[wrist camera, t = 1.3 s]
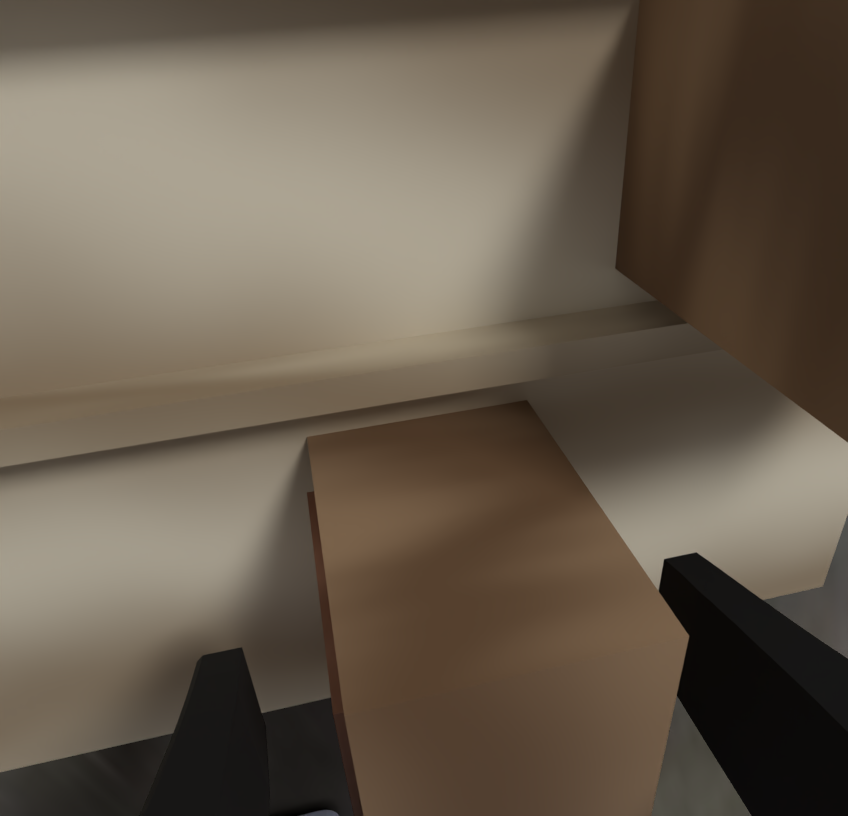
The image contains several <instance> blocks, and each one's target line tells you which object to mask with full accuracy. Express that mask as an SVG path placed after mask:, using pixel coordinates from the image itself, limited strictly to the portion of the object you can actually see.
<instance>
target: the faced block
mask: <svg viewBox="0 0 848 816" xmlns="http://www.w3.org/2000/svg"><path fill="white" fill-rule="evenodd" d="M615 269H616V270H618V271H619V272H620V273H622V274H623V275H624V276H626V277H627V278H628V279H630V280H631V281H632V282H634V283H635V284H636V285H638V286H639V287H641V288H642V289H643V290H645V291H646V292H647V293H649V294H650V295H651V296H653V297H654V298H655V299H657V300H658V301H659V302H661V303H662V304H663V305H665V306H666V307H667V308H669V309H670V310H671V311H673V312H674V313H675V314H677V315H678V316H679V317H681V318H682V319H683V320H685V321H686V322H687V323H689V324H690V325H691V326H693V327H694V328H695V329H697V330H698V331H699V332H701V333H702V334H703V335H705V336H706V337H707V338H709V339H710V340H711V341H713V342H714V343H715V344H717V345H718V346H719V347H721V348H722V349H723V350H725V351H726V352H727V353H729V354H730V355H731V356H733V357H734V358H735V359H737V360H738V361H739V362H741V363H742V364H743V365H745V366H746V367H747V368H749V369H750V370H751V371H753V372H754V373H755V374H757V375H758V376H759V377H761V378H762V379H763V380H765V381H766V382H767V383H769V384H770V385H771V386H773V387H774V388H775V389H777V390H778V391H779V392H781V393H782V394H783V395H785V396H786V397H788V398H789V399H790V400H792V401H793V402H794V403H796V404H797V405H798V406H800V407H801V408H802V409H804V410H805V411H806V412H808V413H809V414H810V415H812V416H813V417H814V418H816V419H817V420H818V421H820V422H821V423H822V424H824V425H825V426H826V427H828V428H829V429H830V430H832V431H833V432H834V433H836V434H837V435H838V436H840V437H841V438H842V439H844V440H845V441H846V442H848V0H640V2H639V13H638V24H637V35H636V45H635V56H634V67H633V78H632V89H631V100H630V111H629V122H628V133H627V144H626V155H625V166H624V177H623V188H622V198H621V209H620V220H619V231H618V242H617V253H616V264H615Z"/></svg>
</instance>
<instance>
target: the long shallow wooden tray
mask: <svg viewBox="0 0 848 816" xmlns="http://www.w3.org/2000/svg"><path fill="white" fill-rule="evenodd" d="M639 2H640V0H0V772H4V771H8V770H13V769H17V768H21V767H26V766H30V765H35V764H39V763H43V762H48V761H52V760H57V759H61V758H66V757H70V756H74V755H79V754H83V753H88V752H92V751H97V750H101V749H105V748H110V747H114V746H119V745H123V744H128V743H132V742H136V741H141V740H145V739H150V738H154V737H158V736H163V735H167V734H172V733H174V730H175V727H176V724H177V722H178V719H179V716H180V713H181V711H182V708H183V705H184V702H185V699H186V696H187V693H188V690H189V687H190V684H191V680H192V677H193V674H194V670H195V667H196V663H197V661H198V660H199V659H200V658H201V657H202V656H203V655H207V654H211V653H216V652H221V651H226V650H230V649H235V648H240V647H242V649H243V652H244V655H245V659H246V662H247V665H248V669H249V672H250V676H251V679H252V682H253V686H254V689H255V692H256V696H257V699H258V702H259V706H260V709H261V713H265V712H269V711H273V710H278V709H282V708H287V707H291V706H296V705H300V704H304V703H309V702H313V701H318V700H322V699H327V698H331V693H330V685H329V676H328V668H327V659H326V651H325V642H324V634H323V625H322V617H321V609H320V600H319V592H318V583H317V575H316V566H315V558H314V549H313V541H312V532H311V524H310V515H309V507H308V498H307V492H313V491H314V486H313V479H312V471H311V464H310V456H309V449H308V441H307V437H309V436H315V435H321V434H327V433H333V432H339V431H345V430H351V429H357V428H363V427H369V426H375V425H381V424H387V423H393V422H399V421H405V420H411V419H417V418H423V417H429V416H435V415H441V414H447V413H453V412H459V411H465V410H471V409H477V408H483V407H489V406H495V405H501V404H507V403H512V402H518V401H524V400H527V401H528V402H529V404H530V405H531V406H532V408H533V409H534V411H535V412H536V414H537V415H538V417H539V418H540V420H541V421H542V422H543V424H544V425H545V427H546V428H547V430H548V431H549V433H550V434H551V436H552V437H553V438H554V440H555V441H556V443H557V444H558V446H559V447H560V449H561V450H562V452H563V453H564V454H565V456H566V457H567V459H568V460H569V462H570V463H571V465H572V466H573V468H574V469H575V471H576V472H577V473H578V475H579V476H580V478H581V479H582V481H583V482H584V484H585V485H586V487H587V488H588V489H589V491H590V492H591V494H592V495H593V497H594V498H595V500H596V501H597V503H598V504H599V505H600V507H601V508H602V510H603V511H604V513H605V514H606V516H607V517H608V519H609V520H610V521H611V523H612V524H613V526H614V527H615V529H616V530H617V532H618V533H619V535H620V536H621V537H622V539H623V540H624V542H625V543H626V545H627V546H628V548H629V549H630V551H631V552H632V553H633V555H634V556H635V558H636V559H637V561H638V562H639V564H640V565H641V567H642V568H643V569H644V571H645V572H646V574H647V575H648V577H649V578H650V580H651V581H652V583H653V584H654V585H655V587H656V588H657V590H658V591H659V585H660V580H661V574H662V568H663V563H664V559H667V558H671V557H676V556H681V555H686V554H691V553H695V552H697V553H698V554H700V555H701V556H702V557H704V558H705V559H707V560H708V561H710V562H711V563H712V564H714V565H715V566H716V567H718V568H719V569H721V570H722V571H723V572H725V573H726V574H727V575H729V576H730V577H732V578H733V579H734V580H736V581H737V582H738V583H740V584H741V585H743V586H744V587H745V588H747V589H748V590H749V591H751V592H752V593H754V594H755V595H756V596H758V597H759V598H760V599H762V600H764V599H769V598H773V597H778V596H782V595H787V594H791V593H795V592H800V591H804V590H809V589H813V588H818V587H822V586H823V584H824V581H825V578H826V575H827V573H828V570H829V567H830V564H831V561H832V558H833V555H834V552H835V549H836V546H837V544H838V541H839V538H840V535H841V532H842V529H843V526H844V523H845V520H846V517H847V514H848V442H846V441H845V440H844V439H842V438H841V437H840V436H838V435H837V434H836V433H834V432H833V431H832V430H830V429H829V428H828V427H826V426H825V425H824V424H822V423H821V422H820V421H818V420H817V419H816V418H814V417H813V416H812V415H810V414H809V413H808V412H806V411H805V410H804V409H802V408H801V407H800V406H798V405H797V404H796V403H794V402H793V401H792V400H790V399H789V398H788V397H786V396H785V395H783V394H782V393H781V392H779V391H778V390H777V389H775V388H774V387H773V386H771V385H770V384H769V383H767V382H766V381H765V380H763V379H762V378H761V377H759V376H758V375H757V374H755V373H754V372H753V371H751V370H750V369H749V368H747V367H746V366H745V365H743V364H742V363H741V362H739V361H738V360H737V359H735V358H734V357H733V356H731V355H730V354H729V353H727V352H726V351H725V350H723V349H722V348H721V347H719V346H718V345H717V344H715V343H714V342H713V341H711V340H710V339H709V338H707V337H706V336H705V335H703V334H702V333H701V332H699V331H698V330H697V329H695V328H694V327H693V326H691V325H690V324H689V323H687V322H686V321H685V320H683V319H682V318H681V317H679V316H678V315H677V314H675V313H674V312H673V311H671V310H670V309H669V308H667V307H666V306H665V305H663V304H662V303H661V302H659V301H658V300H657V299H655V298H654V297H653V296H651V295H650V294H649V293H647V292H646V291H645V290H643V289H642V288H641V287H639V286H638V285H636V284H635V283H634V282H632V281H631V280H630V279H628V278H627V277H626V276H624V275H623V274H622V273H620V272H619V271H618V270H616V269H615V264H616V253H617V242H618V231H619V220H620V209H621V198H622V188H623V177H624V166H625V155H626V144H627V133H628V122H629V111H630V100H631V89H632V78H633V67H634V56H635V45H636V35H637V24H638V13H639Z"/></svg>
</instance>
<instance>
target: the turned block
mask: <svg viewBox="0 0 848 816" xmlns="http://www.w3.org/2000/svg"><path fill="white" fill-rule="evenodd" d="M307 441H308V449H309V456H310V464H311V471H312V479H313V486H314V491H313V492H307V498H308V507H309V515H310V524H311V532H312V541H313V549H314V558H315V566H316V575H317V583H318V592H319V600H320V609H321V617H322V625H323V634H324V642H325V651H326V659H327V668H328V676H329V685H330V693H331V702H332V710H333V717H334V722H335V727H336V731H337V736H338V741H339V746H340V751H341V756H342V760H343V765H344V770H345V775H346V780H347V784H348V789H349V794H350V799H351V804H352V809H353V813H354V816H651V813H652V808H653V804H654V799H655V794H656V790H657V785H658V780H659V776H660V771H661V766H662V761H663V757H664V752H665V747H666V743H667V738H668V733H669V729H670V724H671V719H672V715H673V710H674V705H675V700H676V696H677V691H678V686H679V682H680V677H681V672H682V668H683V663H684V658H685V654H686V649H687V644H688V639H689V635H688V634H687V632H686V631H685V629H684V628H683V626H682V625H681V623H680V622H679V620H678V619H677V618H676V616H675V615H674V613H673V612H672V610H671V609H670V607H669V606H668V604H667V603H666V601H665V600H664V599H663V597H662V596H661V594H660V593H659V591H658V590H657V588H656V587H655V585H654V584H653V583H652V581H651V580H650V578H649V577H648V575H647V574H646V572H645V571H644V569H643V568H642V567H641V565H640V564H639V562H638V561H637V559H636V558H635V556H634V555H633V553H632V552H631V551H630V549H629V548H628V546H627V545H626V543H625V542H624V540H623V539H622V537H621V536H620V535H619V533H618V532H617V530H616V529H615V527H614V526H613V524H612V523H611V521H610V520H609V519H608V517H607V516H606V514H605V513H604V511H603V510H602V508H601V507H600V505H599V504H598V503H597V501H596V500H595V498H594V497H593V495H592V494H591V492H590V491H589V489H588V488H587V487H586V485H585V484H584V482H583V481H582V479H581V478H580V476H579V475H578V473H577V472H576V471H575V469H574V468H573V466H572V465H571V463H570V462H569V460H568V459H567V457H566V456H565V454H564V453H563V452H562V450H561V449H560V447H559V446H558V444H557V443H556V441H555V440H554V438H553V437H552V436H551V434H550V433H549V431H548V430H547V428H546V427H545V425H544V424H543V422H542V421H541V420H540V418H539V417H538V415H537V414H536V412H535V411H534V409H533V408H532V406H531V405H530V404H529V402H528V401H527V400H524V401H518V402H512V403H507V404H501V405H495V406H489V407H483V408H477V409H471V410H465V411H459V412H453V413H447V414H441V415H435V416H429V417H423V418H417V419H411V420H405V421H399V422H393V423H387V424H381V425H375V426H369V427H363V428H357V429H351V430H345V431H339V432H333V433H327V434H321V435H315V436H309V437H307Z"/></svg>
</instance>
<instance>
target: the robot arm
mask: <svg viewBox="0 0 848 816" xmlns="http://www.w3.org/2000/svg"><path fill="white" fill-rule="evenodd" d="M659 593H660V594H661V596H662V597H663V599H664V600H665V601H666V603H667V604H668V606H669V607H670V609H671V610H672V612H673V613H674V615H675V616H676V618H677V619H678V620H679V622H680V623H681V625H682V626H683V628H684V629H685V631H686V632H687V634H688V635H689V639H688V644H687V649H686V654H685V658H684V663H683V668H682V672H681V677H680V682H679V686H678V691H677V696H678V698H679V699H680V701H681V703H682V704H683V706H684V708H685V709H686V711H687V713H688V714H689V716H690V718H691V719H692V721H693V722H694V724H695V726H696V727H697V729H698V731H699V732H700V734H701V735H702V737H703V739H704V740H705V742H706V743H707V745H708V747H709V748H710V750H711V751H712V753H713V755H714V756H715V758H716V759H717V761H718V763H719V764H720V766H721V767H722V769H723V771H724V772H725V774H726V775H727V777H728V779H729V780H730V782H731V783H732V785H733V787H734V788H735V790H736V791H737V793H738V795H739V796H740V798H741V799H742V801H743V803H744V804H745V806H746V807H747V809H748V811H749V812H750V814H751V815H752V816H848V659H847V658H846V657H844V656H843V655H841V654H840V653H838V652H837V651H835V650H834V649H832V648H831V647H829V646H828V645H826V644H825V643H823V642H822V641H820V640H819V639H817V638H816V637H814V636H813V635H811V634H810V633H809V632H807V631H806V630H804V629H803V628H801V627H800V626H798V625H797V624H796V623H794V622H793V621H791V620H790V619H788V618H787V617H786V616H784V615H783V614H781V613H780V612H779V611H777V610H776V609H774V608H773V607H772V606H770V605H769V604H767V603H766V602H765V601H763V600H762V599H760V598H759V597H758V596H756V595H755V594H754V593H752V592H751V591H749V590H748V589H747V588H745V587H744V586H743V585H741V584H740V583H738V582H737V581H736V580H734V579H733V578H732V577H730V576H729V575H727V574H726V573H725V572H723V571H722V570H721V569H719V568H718V567H716V566H715V565H714V564H712V563H711V562H710V561H708V560H707V559H705V558H704V557H702V556H701V555H700V554H698V553H697V552H695V553H691V554H686V555H681V556H676V557H671V558H667V559H664V563H663V568H662V574H661V580H660V585H659ZM269 800H270V789H269V772H268V756H267V741H266V727H265V723H264V719H263V716H262V713H261V709H260V706H259V702H258V699H257V696H256V692H255V689H254V686H253V682H252V679H251V676H250V672H249V669H248V665H247V662H246V659H245V655H244V652H243V649H242V647H240V648H235V649H230V650H226V651H221V652H216V653H211V654H207V655H203V656H202V657H201V658H200V659H199V660H198V661H197V663H196V667H195V670H194V674H193V677H192V680H191V684H190V687H189V690H188V693H187V696H186V699H185V702H184V705H183V708H182V711H181V713H180V716H179V719H178V722H177V724H176V727H175V730H174V733H173V735H172V738H171V741H170V743H169V746H168V748H167V751H166V753H165V756H164V758H163V761H162V763H161V765H160V768H159V770H158V773H157V775H156V778H155V780H154V783H153V785H152V787H151V790H150V792H149V795H148V797H147V799H146V802H145V804H144V806H143V809H142V811H141V813H140V815H139V816H269ZM299 816H339V815H338V814H337V813H336V812H334V811H332V810H326V809H325V810H319V811H315V812H311V813H307V814H303V815H299Z"/></svg>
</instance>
